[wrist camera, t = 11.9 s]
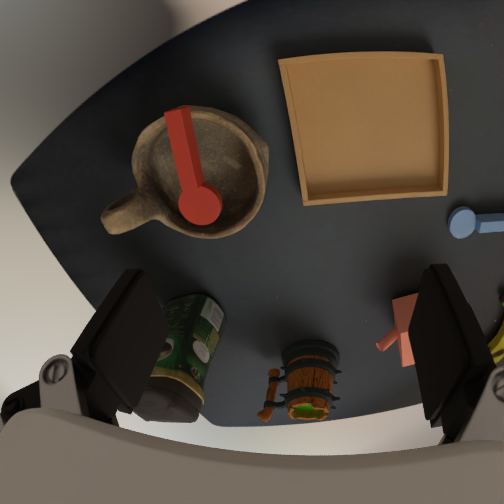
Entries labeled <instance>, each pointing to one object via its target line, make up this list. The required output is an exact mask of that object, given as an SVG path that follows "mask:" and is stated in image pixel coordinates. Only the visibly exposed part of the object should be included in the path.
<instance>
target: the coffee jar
mask: <svg viewBox="0 0 504 504" xmlns="http://www.w3.org/2000/svg"><path fill="white" fill-rule="evenodd" d="M163 313H164V316H165V318H166V320H167V323H168V325H169V334H168V337H167V339H166V341H165V344H164V346H163V348H162V351H161V353H160V355H159V357H158V360H157V362H156V364H155V367H154V369H153V371H152V374H151V376H150V378H149V381H148V383H147V385H146V388H145V390H144V392H143V395H142V397H141V400H140V402H139V404H138V406H137V407H135V408H134V409H133V412H134V413H136V414H137V415H138V416H140V417H141V418H143V419H144V420H145V421H159V422H181V423H182V422H183V423H191V422H195V421H196V420H197V419H198V416H199V413H200V410H201V408H202V405H203V403H204V391H203V387H204V382H205V378H206V375H207V372H208V369H209V366H210V364H211V361H212V358H213V356H214V353H215V351H216V348H217V346H218V343H219V341H220V339H221V336H222V334H223V331H224V328H225V325H226V317H225V315H224V312H223V311H222V309H221V307H220V306H219V305H218V304H217V303H216V302H215V301H214V300H213V299H212V298H210V297H208V296H206V295H204V294H191V295H186V296H182V297H179V298H176V299H174V300H171V301H169V302H168V303H167V304H166V305H165V306H164V308H163Z"/></svg>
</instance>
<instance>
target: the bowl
mask: <svg viewBox="0 0 504 504" xmlns="http://www.w3.org/2000/svg"><path fill="white" fill-rule="evenodd" d="M184 106H189V109H190V114H191V119H192V124H193V129H194V133H195V138H196V143H197V148H198V153H199V157H200V162H201V167H202V172H203V176H204V182H203V183H207V184H209V185H211V186H213V187H214V188H215V189H216V190H217V191H218V192H219V194H220V196H221V198H222V210H221V212H220V214H219V216H218V217H217V219H216V220H215V221H214V222H212V223H210V224H207V225H197V224H194V223H192V222H190V221H188V220H187V219H186V218H185V217H184V216H183V215H182V213H181V211H180V209H179V204H178V201H179V196H180V194H181V193H182V189H181V185H180V181H179V177H178V173H177V168H176V164H175V160H174V156H173V152H172V147H171V143H170V139H169V134H168V130H167V125H166V121H165V116H163V117H161V118H160V119H158V120H156V121H155V122H153V123H151V124H150V125H149V126H147V127H146V128H145V129H144V130H143V131H142V132H141V134H140V135H139V137H138V140H137V142H136V145H135V147H134V150H133V154H132V169H133V175H134V177H135V180H136V183H137V187H138V188H136V189H134V190H132V191H130V192H129V193H127V194H125V195H123V196H121V197H120V198H118V199H117V200H115V201H114V202H112V203H111V204H109V205H108V206H107V207H106V209H105V210H104V211H103V213H102V214H101V221H102V223H103V225H104V227H105V229H106V230H107V231H108V233H110V234H120V233H123V232H127V231H129V230H132V229H134V228H136V227H138V226H140V225H142V224H144V223H146V222H148V221H150V220H152V219H157V220H159V221H161V222H162V223H163V224H165V225H166V226H168V227H170V228H172V229H174V230H177V231H179V232H182V233H184V234H186V235H189V236H192V237H197V238H208V239H214V238H221V237H225V236H228V235H231V234H234V233H236V232H238V231H239V230H241V229H242V228H244V227H245V226H246V225H247V224H248V223H249V222H250V221H251V220H252V219H253V218H254V216H255V215H256V214H257V212H258V210H259V208H260V206H261V204H262V202H263V199H264V196H265V189H266V185H267V180H268V174H269V147H268V144H267V143H266V141H265V140H264V139H262V138H261V137H260V136H259V135H258V134H257V133H256V132H255V131H254V130H253V129H252V128H251V127H250V126H249V125H247V124H246V123H245V122H244V121H242V120H241V119H240V118H238V117H237V116H235V115H232V114H230V113H227V112H224V111H221V110H218V109H215V108H211V107H202V106H193V105H182V106H179V107H184ZM179 107H177V108H179Z"/></svg>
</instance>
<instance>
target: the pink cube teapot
mask: <svg viewBox="0 0 504 504" xmlns="http://www.w3.org/2000/svg"><path fill="white" fill-rule="evenodd" d="M417 296H418V293H415V294H412V295H408V296H404V297H401V298H397V299H393V300H392V304H393V312H394V320H395V327H394V328H393V329H392V330H391V331H390V332H389V333H388V334H387V335H385V336H384V337H383V338H382V339H381V340H380V341H379V342H378V343H377V344H376V346H377V347H378V349H379V350H380V351H382V352H383V351H384V350H386V349H387V348H388V347H389V346H390V345H391V344H392V343H393V342H394V341H395V340H396V339H397V342H398V346H399V351H400V356H401V362H402V367H405V366H409V365H413V364H415V362H414V358H413V353H412V349H411V345H410V341H409V337H408V327H409V324H410V320H411V317H412V314H413V310H414V307H415V303H416V300H417Z"/></svg>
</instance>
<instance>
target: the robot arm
mask: <svg viewBox="0 0 504 504" xmlns="http://www.w3.org/2000/svg"><path fill="white" fill-rule="evenodd" d="M168 334H169V325H168V323H167V320H166V318H165V316H164V313H163V311H162V308H161V306H160V304H159V301H158V299H157V296H156V294H155V291H154V289H153V286H152V284H151V281H150V279H149V276H148V274H147V273H144V271H143V270H142V269H126V270H125V271H124V272H123V274H122V275H121V277H120V278H119V279H118V281H117V282H116V283H115V285H114V286H113V288H112V289H111V290H110V292H109V293H108V295H107V296H106V298H105V299H104V300H103V302H102V303H101V305H100V306H99V308H98V309H97V311H96V312H95V314H94V315H93V316H92V318H91V320H90V321H89V322H88V324H87V326H86V327H85V329H84V330H83V332H82V333H81V335H80V336H79V338H78V339H77V341H76V343H75V344H74V346H73V347H72V349H71V350H70V352H71V353H72V355H73V357H72V358H71V359H70V358H69V357H68V356H66V355H60V354H59V355H56V356H53V357H51V358H50V359H49V360H47V361H46V362H45V363H44V365H43V366H42V368H41V370H40V374H39V380H38V381H36V382H34V383H32V384H30V385H28V386H26V387H24V388H22V389H20V390H18V391H16V392H14V393H12V394H10V395H9V396H8V397H7V398H6V399H5V401H4V403H3V405H2V408H1V413H0V504H504V366H500V367H496V365H495V362H494V359H493V357H492V354H491V352H490V349H489V347H488V344H487V342H486V339H485V337H484V335H483V332H482V330H481V328H480V325H479V323H478V321H477V319H476V316H475V314H474V312H473V310H472V308H471V306H470V305H469V304H468V303H467V301H466V299H465V297H464V295H463V293H462V291H461V289H460V287H459V285H458V283H457V281H456V279H455V277H454V275H453V274H452V272H451V270H450V268H449V266H448V265H447V264H431V265H430V266H429V268H428V269H425V270H424V272H423V276H422V280H421V284H420V288H419V292H418V296H417V300H416V303H415V307H414V310H413V314H412V317H411V320H410V324H409V327H408V337H409V341H410V345H411V349H412V353H413V358H414V362H415V367H416V371H417V376H418V381H419V386H420V391H421V397H422V402H423V408H424V414H425V418H426V420H430V424H431V428H434V427H439V426H442V427H443V433H444V436H443V438H442V439H441V441H440V442H439V444H438V445H436V446H430V447H424V448H417V449H409V450H401V451H392V452H383V453H371V454H357V455H333V456H305V455H278V454H262V453H252V452H251V453H250V452H240V451H233V450H225V449H218V448H211V447H205V446H199V445H193V444H187V443H183V442H177V441H173V440H168V439H163V438H159V437H154V436H151V435H147V434H142V433H139V432H135V431H131V430H128V429H124V428H121V427H119V424H118V421H117V418H116V415H115V414H116V412H117V409H118V410H119V411H120V412H124V413H128V414H131V413H132V411H133V409H134V408H135V407H137V406H138V404H139V402H140V400H141V397H142V395H143V392H144V390H145V388H146V385H147V383H148V381H149V378H150V376H151V374H152V371H153V369H154V367H155V364H156V362H157V360H158V357H159V355H160V353H161V351H162V348H163V346H164V344H165V341H166V339H167V337H168Z"/></svg>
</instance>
